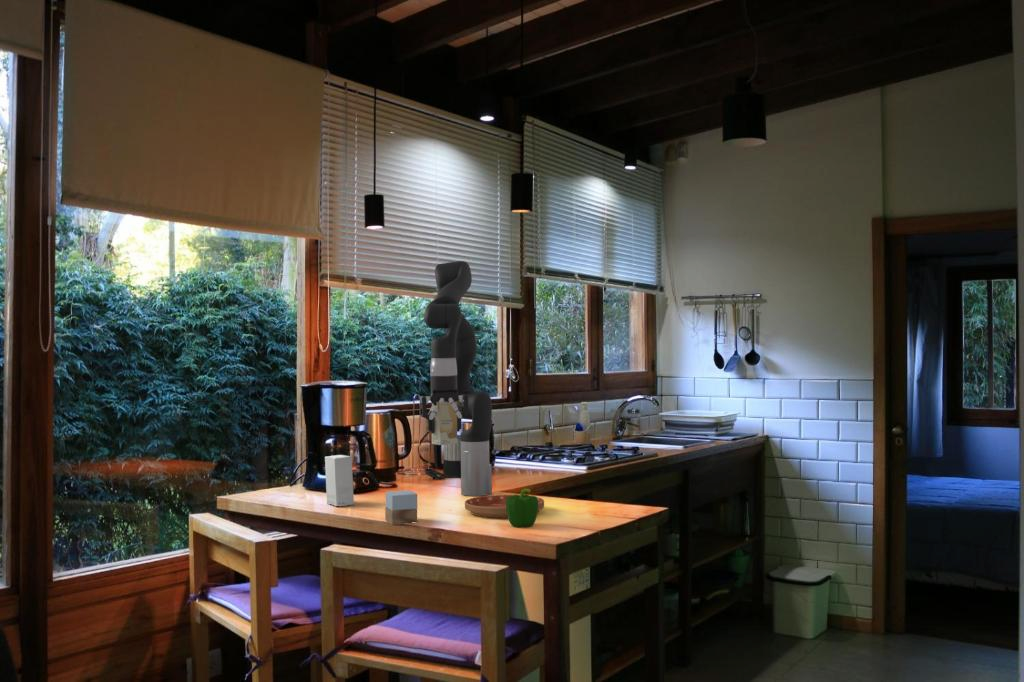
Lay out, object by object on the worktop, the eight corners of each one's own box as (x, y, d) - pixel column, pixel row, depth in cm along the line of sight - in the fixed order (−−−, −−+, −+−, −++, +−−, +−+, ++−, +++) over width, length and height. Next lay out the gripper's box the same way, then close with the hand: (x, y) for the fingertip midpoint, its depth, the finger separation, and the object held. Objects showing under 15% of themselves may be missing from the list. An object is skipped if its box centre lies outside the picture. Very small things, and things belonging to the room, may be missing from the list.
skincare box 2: (440, 445, 256) (439, 402, 256) (431, 444, 259) (430, 401, 259) (458, 443, 260) (457, 400, 260) (449, 442, 263) (448, 400, 263)
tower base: (409, 518, 256) (409, 504, 256) (417, 523, 249) (417, 508, 249) (385, 521, 253) (385, 506, 253) (392, 525, 246) (392, 510, 246)
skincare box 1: (354, 505, 277) (353, 456, 277) (335, 507, 273) (335, 457, 273) (343, 501, 284) (342, 453, 284) (324, 503, 280) (324, 455, 280)
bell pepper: (500, 525, 245) (499, 487, 245) (525, 521, 249) (524, 484, 249) (518, 530, 238) (518, 491, 238) (543, 526, 243) (543, 488, 243)
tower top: (410, 504, 256) (409, 490, 256) (417, 508, 249) (417, 493, 249) (385, 506, 253) (385, 491, 253) (392, 510, 247) (392, 495, 247)
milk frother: (471, 474, 338) (471, 434, 338) (459, 481, 323) (458, 439, 323) (434, 474, 341) (434, 434, 341) (420, 480, 326) (420, 438, 326)
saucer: (449, 511, 266) (449, 499, 266) (513, 503, 279) (513, 491, 279) (494, 524, 247) (494, 510, 247) (560, 514, 261) (560, 501, 261)
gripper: (463, 373, 266) (464, 429, 266) (415, 374, 260) (416, 432, 260) (472, 373, 259) (472, 432, 259) (423, 375, 253) (424, 434, 253)
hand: (444, 432), depth 260 cm, fingers closed on skincare box 2, 7 cm apart
